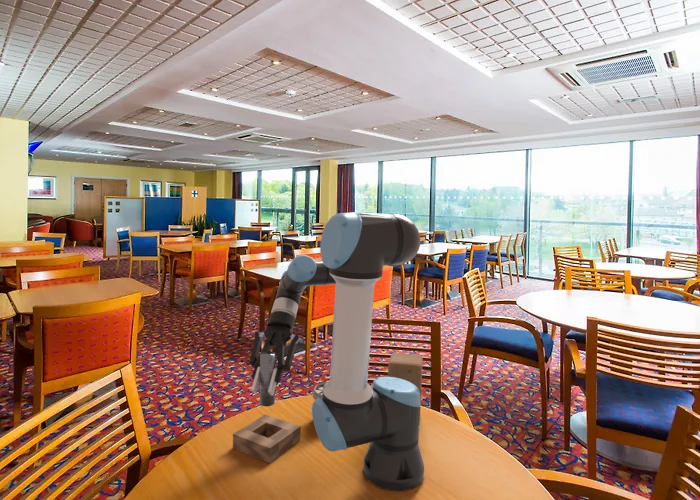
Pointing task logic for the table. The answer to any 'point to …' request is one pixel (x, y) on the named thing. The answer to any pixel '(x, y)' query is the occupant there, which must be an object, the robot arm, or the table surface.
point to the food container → (318, 390)
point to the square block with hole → (261, 446)
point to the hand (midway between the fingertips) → (262, 392)
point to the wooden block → (407, 369)
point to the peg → (266, 377)
